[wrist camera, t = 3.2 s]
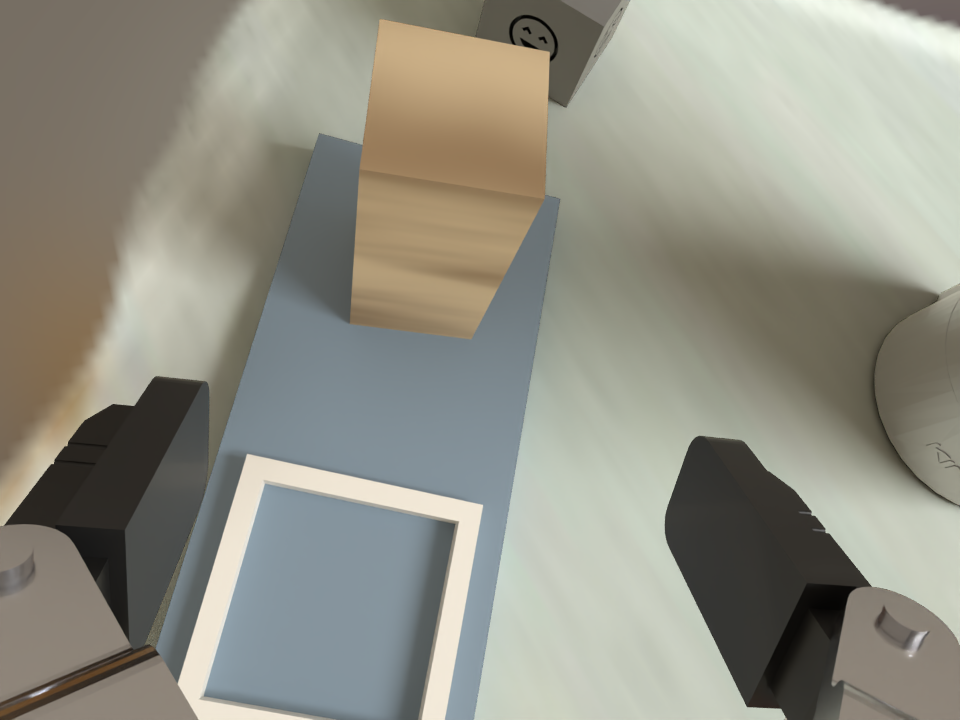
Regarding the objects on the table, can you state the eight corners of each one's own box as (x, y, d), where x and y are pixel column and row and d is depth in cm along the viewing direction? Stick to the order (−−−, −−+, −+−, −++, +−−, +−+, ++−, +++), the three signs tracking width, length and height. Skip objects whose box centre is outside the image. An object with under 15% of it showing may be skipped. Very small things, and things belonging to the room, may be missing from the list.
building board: (319, 151, 30) (319, 120, 28) (551, 213, 31) (566, 188, 29) (134, 743, 22) (115, 756, 20) (453, 796, 23) (464, 813, 21)
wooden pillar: (363, 216, 28) (380, 18, 18) (478, 233, 28) (549, 51, 19) (349, 324, 26) (359, 169, 17) (471, 339, 27) (544, 198, 18)
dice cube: (521, -14, 35) (551, -110, 30) (610, 39, 35) (654, -48, 30) (471, 52, 33) (495, -40, 28) (565, 108, 33) (604, 26, 28)
